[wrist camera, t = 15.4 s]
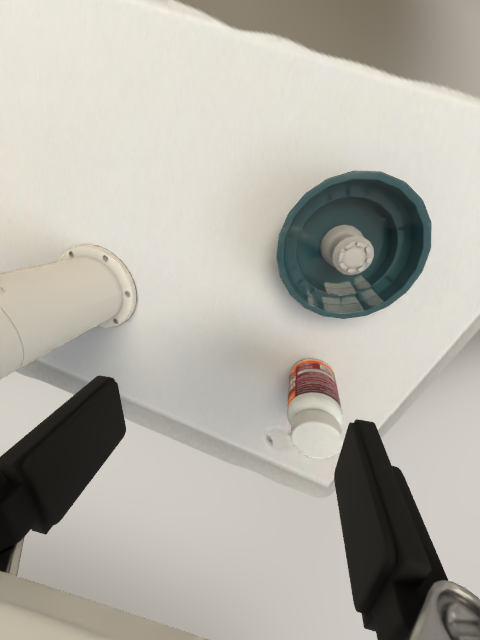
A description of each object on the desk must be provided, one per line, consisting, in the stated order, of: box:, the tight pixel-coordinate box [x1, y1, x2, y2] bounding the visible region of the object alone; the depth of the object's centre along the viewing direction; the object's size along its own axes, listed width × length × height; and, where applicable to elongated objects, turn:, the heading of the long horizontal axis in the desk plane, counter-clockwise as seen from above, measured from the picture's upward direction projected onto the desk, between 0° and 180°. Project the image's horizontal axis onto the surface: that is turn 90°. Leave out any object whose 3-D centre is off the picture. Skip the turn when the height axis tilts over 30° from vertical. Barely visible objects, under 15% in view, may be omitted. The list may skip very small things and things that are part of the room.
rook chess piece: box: [320, 225, 374, 275], centre depth 24 cm, size 4×4×8 cm
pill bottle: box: [287, 359, 343, 459], centre depth 30 cm, size 6×6×11 cm
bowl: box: [277, 171, 431, 319], centre depth 26 cm, size 13×13×6 cm
